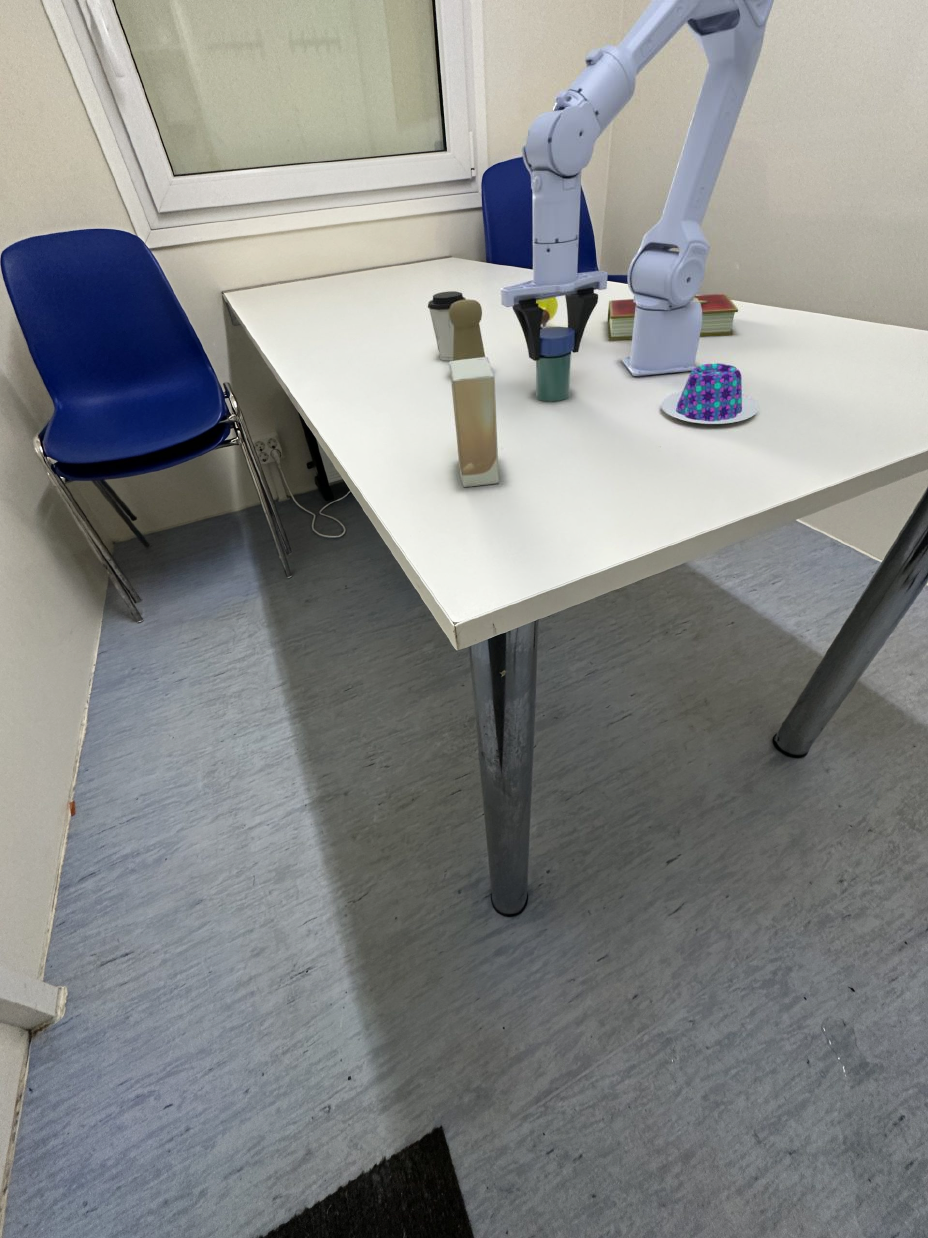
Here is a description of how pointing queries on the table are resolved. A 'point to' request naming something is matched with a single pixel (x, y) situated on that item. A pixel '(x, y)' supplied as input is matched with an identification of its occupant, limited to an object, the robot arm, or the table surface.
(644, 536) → the table surface
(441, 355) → the coffee cup
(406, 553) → the table surface
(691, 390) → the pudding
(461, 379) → the cosmetic box
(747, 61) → the robot arm
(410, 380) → the table surface
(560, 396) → the jar
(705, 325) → the hardcover book
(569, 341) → the lid
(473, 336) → the cork
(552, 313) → the toy figure
